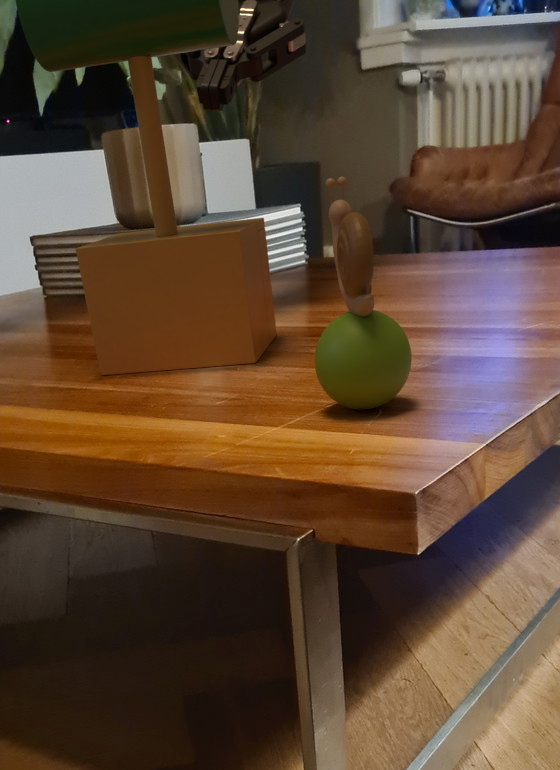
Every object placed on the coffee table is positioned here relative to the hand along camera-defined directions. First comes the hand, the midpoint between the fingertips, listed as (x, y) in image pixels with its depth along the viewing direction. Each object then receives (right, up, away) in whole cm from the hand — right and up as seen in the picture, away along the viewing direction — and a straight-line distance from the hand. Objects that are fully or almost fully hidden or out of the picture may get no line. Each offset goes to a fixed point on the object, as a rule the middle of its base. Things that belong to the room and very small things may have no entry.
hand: (210, 100), depth 75 cm
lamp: (-1, -22, -3) cm, 22 cm away
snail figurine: (+11, -30, -22) cm, 39 cm away
